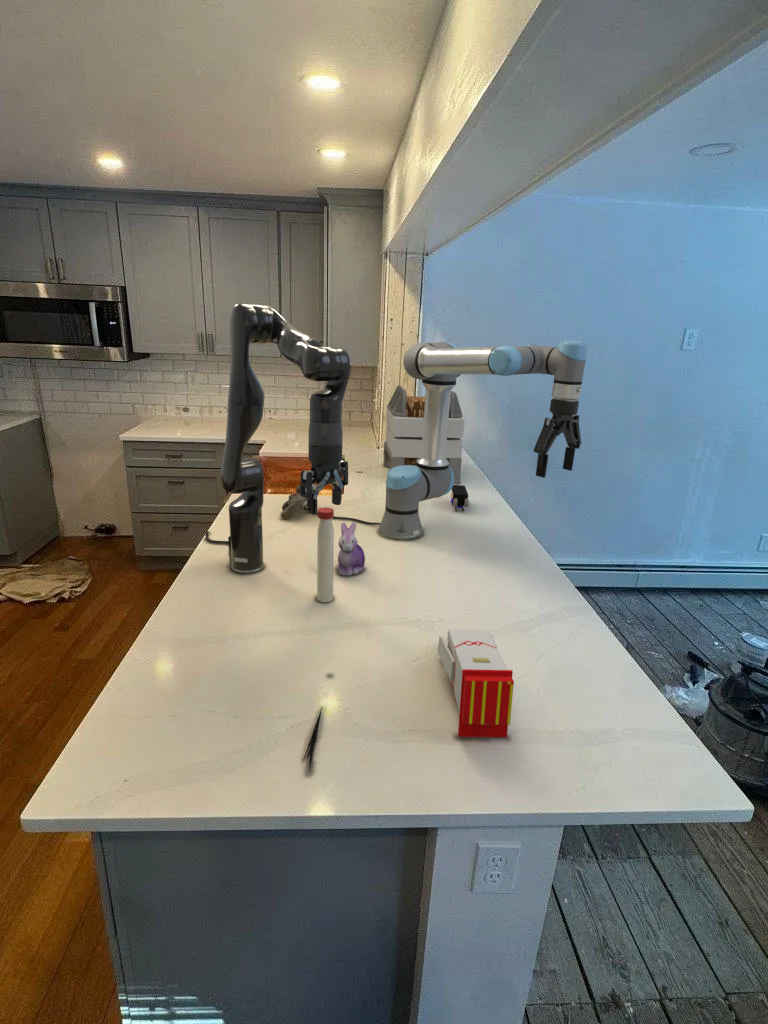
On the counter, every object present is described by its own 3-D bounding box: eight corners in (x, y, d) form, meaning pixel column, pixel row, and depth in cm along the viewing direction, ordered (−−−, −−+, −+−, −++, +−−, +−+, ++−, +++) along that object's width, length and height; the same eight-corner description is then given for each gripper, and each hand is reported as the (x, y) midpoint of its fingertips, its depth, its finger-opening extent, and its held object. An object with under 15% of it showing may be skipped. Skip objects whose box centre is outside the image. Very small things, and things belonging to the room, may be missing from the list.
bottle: (335, 600, 153) (336, 513, 144) (320, 603, 151) (321, 515, 142) (329, 593, 156) (330, 507, 148) (314, 596, 154) (315, 509, 146)
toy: (488, 613, 130) (523, 677, 101) (484, 667, 133) (517, 744, 104) (435, 612, 130) (455, 676, 101) (432, 666, 133) (451, 743, 103)
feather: (331, 679, 122) (336, 673, 122) (307, 777, 96) (313, 769, 95) (324, 675, 122) (329, 669, 121) (298, 772, 95) (304, 764, 95)
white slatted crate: (382, 463, 289) (386, 382, 275) (445, 464, 293) (451, 384, 279) (390, 482, 257) (394, 392, 243) (460, 483, 261) (468, 394, 247)
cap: (336, 518, 145) (336, 511, 144) (321, 520, 143) (321, 513, 142) (330, 513, 148) (330, 506, 148) (315, 515, 146) (315, 508, 146)
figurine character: (468, 516, 224) (463, 500, 237) (471, 498, 221) (465, 483, 234) (452, 515, 224) (447, 499, 237) (453, 498, 220) (449, 482, 234)
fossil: (285, 490, 226) (313, 470, 221) (301, 508, 229) (329, 489, 224) (270, 515, 206) (301, 493, 201) (287, 534, 209) (318, 513, 204)
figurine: (343, 579, 165) (344, 531, 159) (329, 565, 173) (330, 519, 168) (372, 573, 169) (374, 526, 164) (357, 560, 177) (359, 515, 172)
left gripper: (332, 432, 133) (331, 498, 139) (290, 442, 122) (291, 513, 128) (358, 438, 129) (356, 505, 135) (317, 448, 118) (316, 521, 124)
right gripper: (551, 404, 147) (539, 482, 154) (601, 398, 162) (588, 469, 169) (526, 400, 152) (517, 476, 159) (577, 394, 167) (566, 464, 175)
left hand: (324, 509), depth 131 cm, fingers open, 8 cm apart
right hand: (554, 473), depth 164 cm, fingers open, 13 cm apart
